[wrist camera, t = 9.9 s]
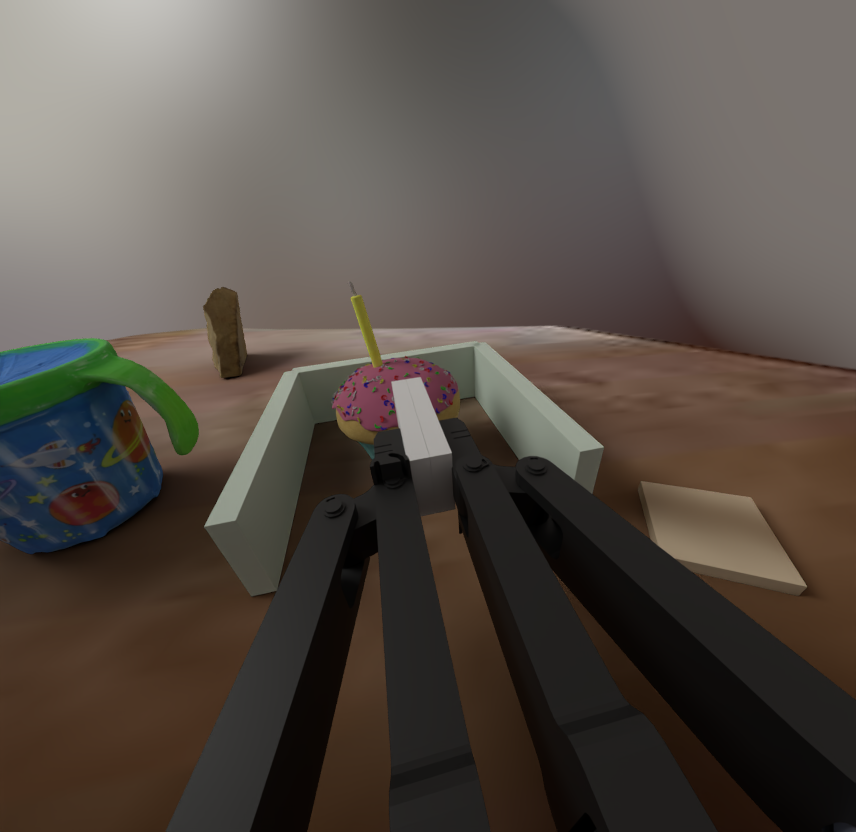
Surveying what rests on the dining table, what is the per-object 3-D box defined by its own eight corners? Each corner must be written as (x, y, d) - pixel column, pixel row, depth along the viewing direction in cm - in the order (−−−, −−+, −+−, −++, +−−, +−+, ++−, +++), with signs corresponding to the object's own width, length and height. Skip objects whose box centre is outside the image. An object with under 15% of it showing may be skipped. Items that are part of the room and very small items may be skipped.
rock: (251, 361, 38) (282, 326, 46) (177, 308, 34) (224, 280, 42) (211, 409, 43) (245, 370, 50) (142, 367, 39) (190, 332, 46)
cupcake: (324, 477, 22) (263, 298, 16) (385, 415, 29) (358, 271, 22) (438, 507, 19) (418, 297, 13) (477, 430, 25) (476, 266, 19)
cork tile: (792, 602, 13) (807, 586, 13) (653, 570, 15) (660, 555, 14) (741, 513, 17) (750, 497, 17) (635, 495, 19) (640, 480, 18)
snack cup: (-130, 603, 17) (-412, 450, 11) (55, 471, 26) (-54, 351, 20) (170, 566, 17) (30, 401, 12) (249, 448, 26) (190, 325, 21)
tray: (585, 520, 17) (604, 447, 15) (251, 596, 15) (204, 526, 13) (482, 389, 31) (482, 340, 29) (303, 419, 29) (285, 369, 27)
